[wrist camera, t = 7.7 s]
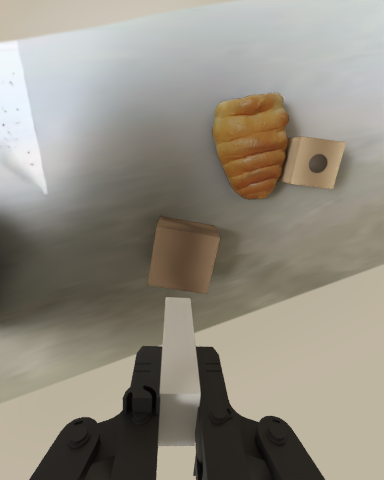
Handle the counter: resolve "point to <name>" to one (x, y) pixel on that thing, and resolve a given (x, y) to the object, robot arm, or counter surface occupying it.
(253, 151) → the pastry
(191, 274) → the walnut block
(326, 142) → the beech block
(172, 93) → the counter surface
